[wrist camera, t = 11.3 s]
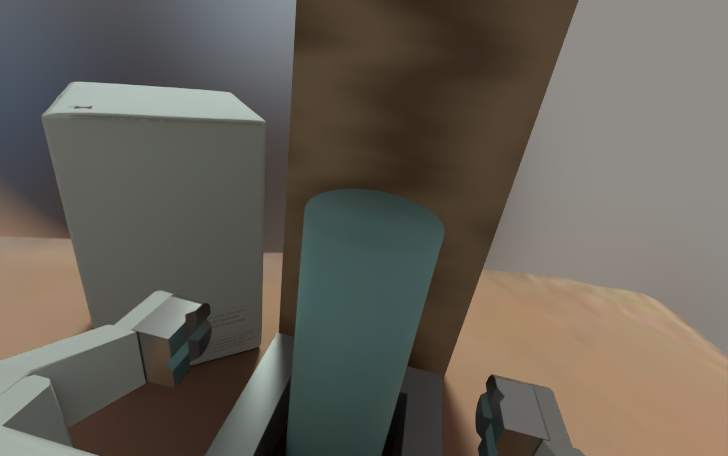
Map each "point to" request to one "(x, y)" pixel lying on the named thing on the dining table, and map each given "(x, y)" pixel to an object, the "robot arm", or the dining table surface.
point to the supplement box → (164, 201)
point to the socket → (271, 408)
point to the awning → (418, 127)
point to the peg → (356, 317)
